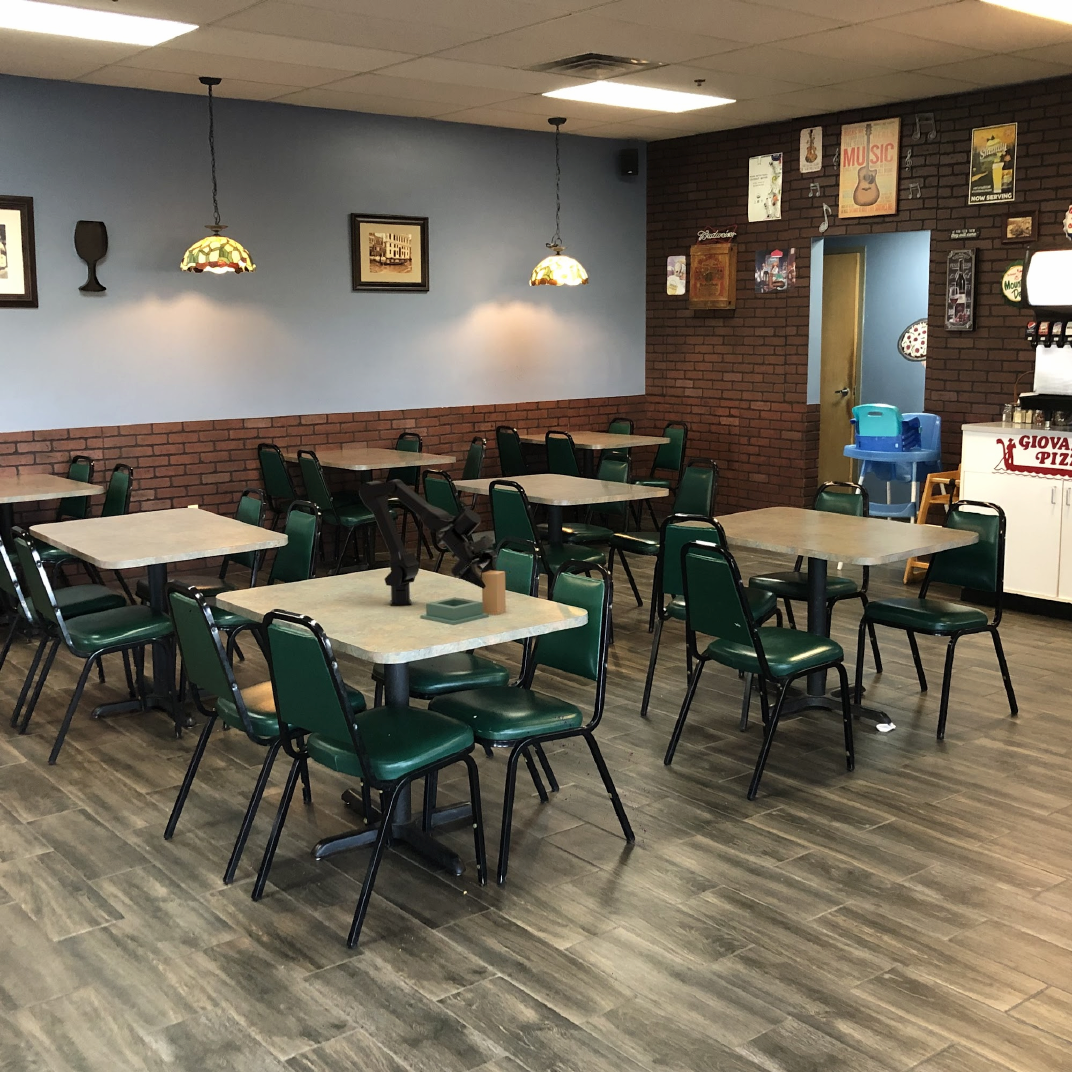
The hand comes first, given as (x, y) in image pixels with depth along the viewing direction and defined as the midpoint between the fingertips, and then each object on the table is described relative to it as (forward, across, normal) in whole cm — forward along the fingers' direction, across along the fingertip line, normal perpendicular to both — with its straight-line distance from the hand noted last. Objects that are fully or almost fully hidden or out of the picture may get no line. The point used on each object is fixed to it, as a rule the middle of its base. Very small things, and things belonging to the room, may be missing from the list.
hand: (492, 584), depth 356 cm
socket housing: (+1, -11, +10) cm, 15 cm away
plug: (+6, 0, +6) cm, 8 cm away
